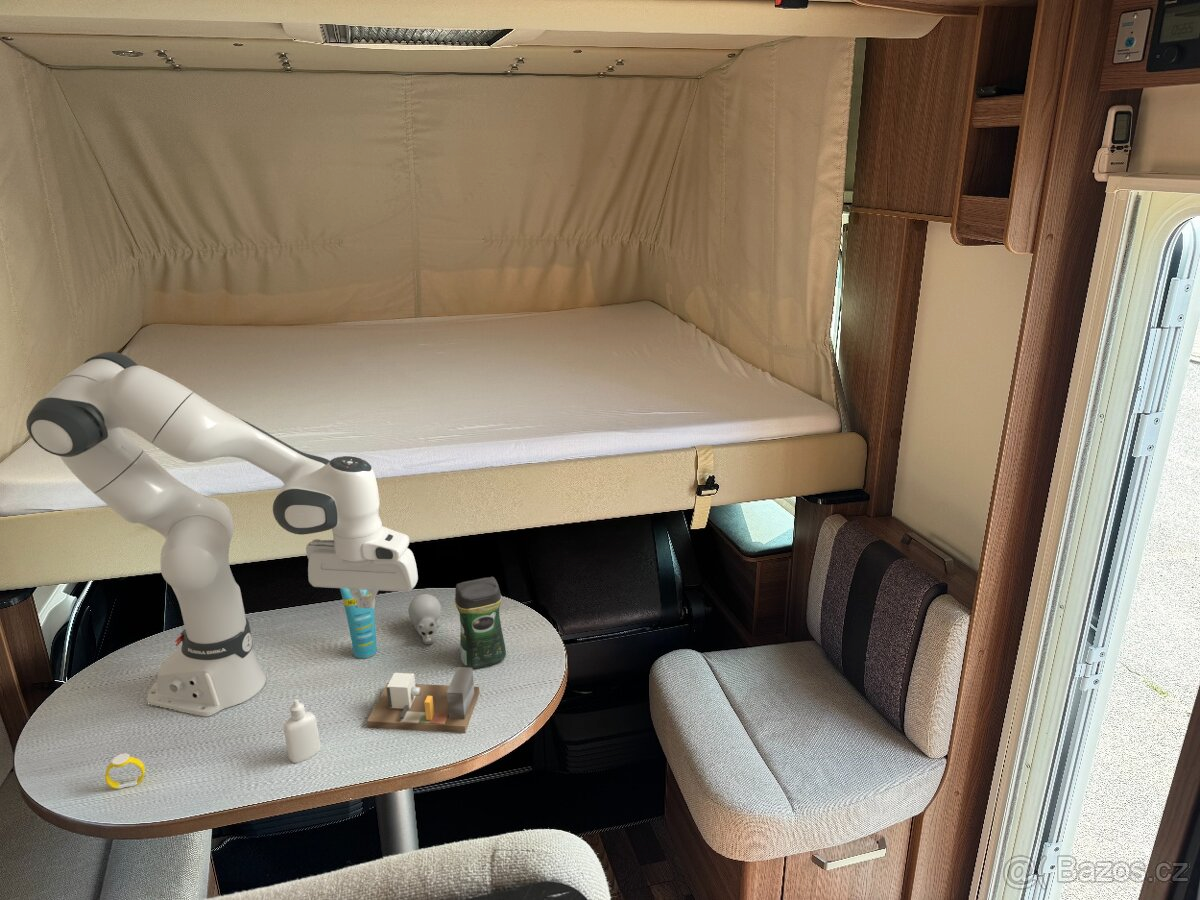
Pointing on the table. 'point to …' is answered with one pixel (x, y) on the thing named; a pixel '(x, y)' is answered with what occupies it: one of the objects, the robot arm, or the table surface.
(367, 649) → the tube
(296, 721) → the eye dropper bottle
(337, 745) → the table surface
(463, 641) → the coffee jar
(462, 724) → the bench
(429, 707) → the block
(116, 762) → the watch
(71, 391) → the robot arm
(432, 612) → the round bodied animal figurine
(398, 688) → the cream block with knob
